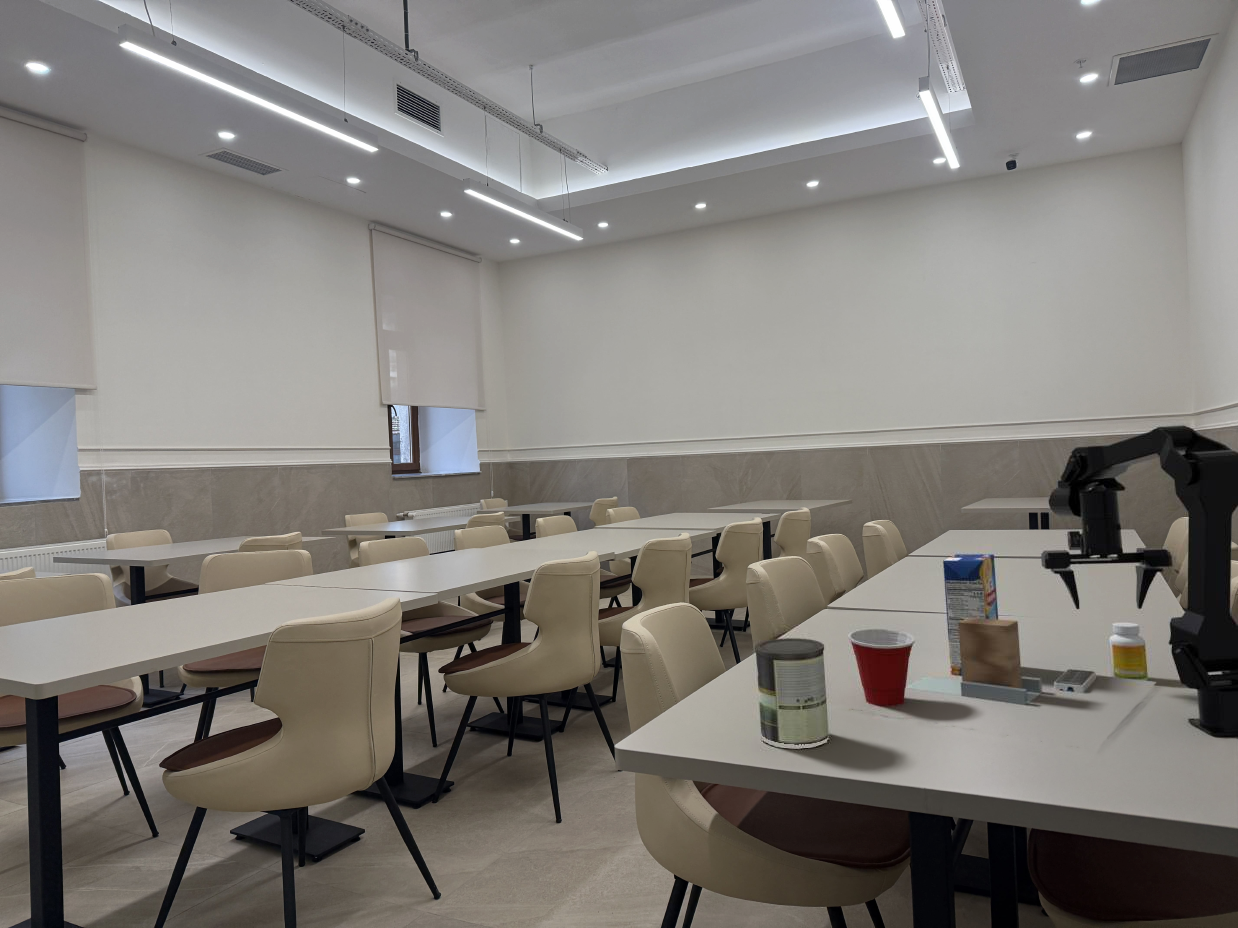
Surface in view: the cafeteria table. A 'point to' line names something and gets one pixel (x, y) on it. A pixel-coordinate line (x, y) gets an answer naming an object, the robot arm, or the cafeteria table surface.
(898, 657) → the plastic cup
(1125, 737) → the cafeteria table surface
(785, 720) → the coffee can
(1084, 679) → the multiport hub
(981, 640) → the block
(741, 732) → the cafeteria table surface
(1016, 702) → the chute
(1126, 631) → the supplement bottle
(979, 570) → the beverage box
